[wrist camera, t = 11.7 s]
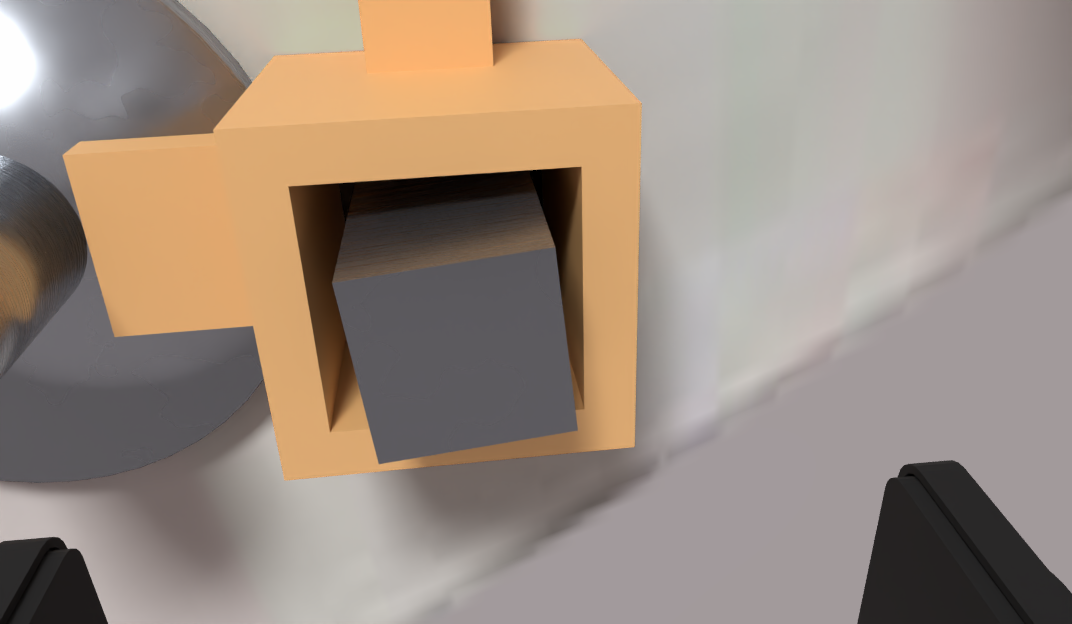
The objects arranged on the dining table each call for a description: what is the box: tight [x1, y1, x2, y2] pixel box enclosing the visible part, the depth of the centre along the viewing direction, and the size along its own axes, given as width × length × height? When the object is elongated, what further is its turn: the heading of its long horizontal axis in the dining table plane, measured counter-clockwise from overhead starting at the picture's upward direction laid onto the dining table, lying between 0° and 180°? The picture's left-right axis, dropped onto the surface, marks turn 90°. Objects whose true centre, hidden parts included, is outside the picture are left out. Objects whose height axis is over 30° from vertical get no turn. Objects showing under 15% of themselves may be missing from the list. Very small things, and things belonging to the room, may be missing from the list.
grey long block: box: [332, 170, 578, 464], centre depth 21 cm, size 4×4×10 cm
